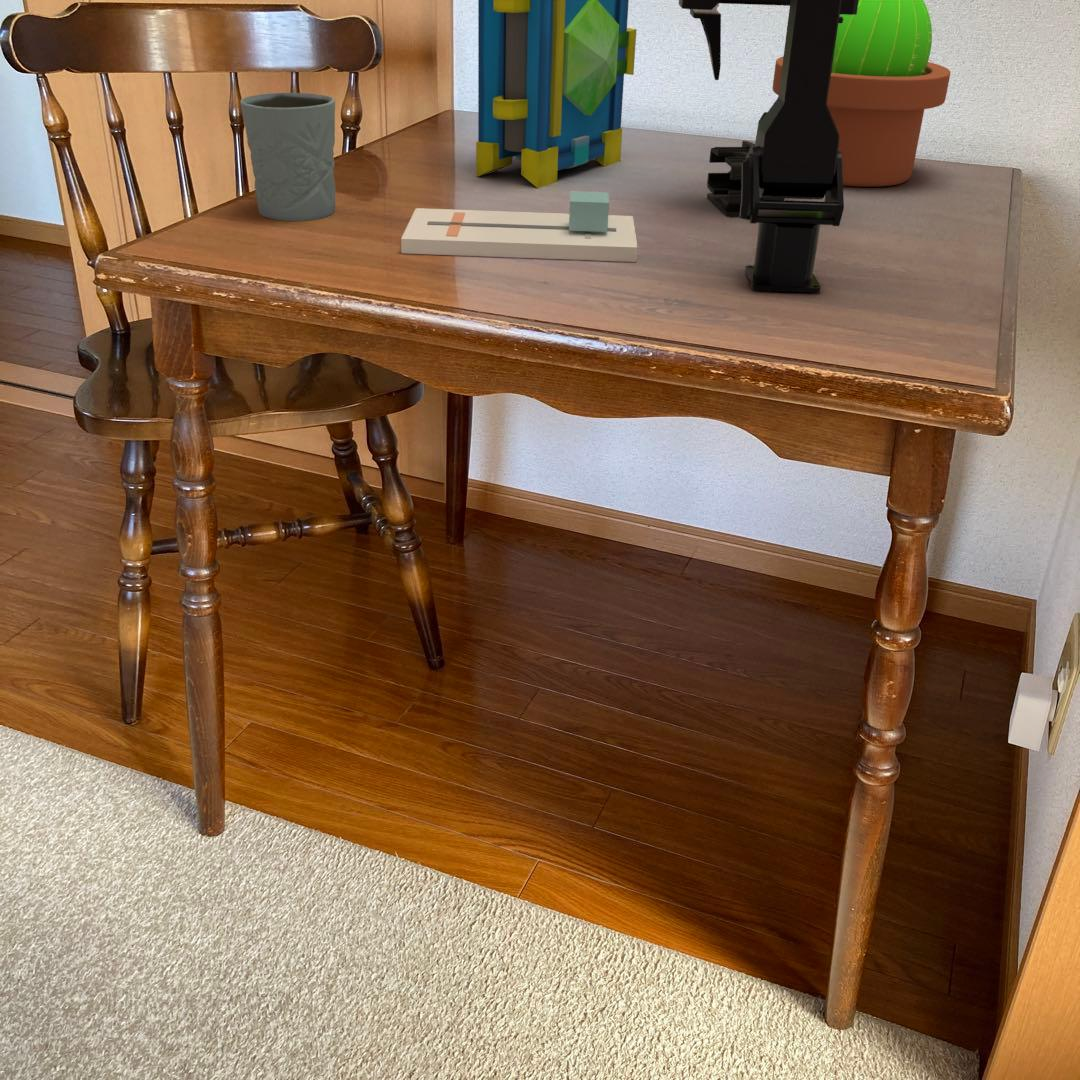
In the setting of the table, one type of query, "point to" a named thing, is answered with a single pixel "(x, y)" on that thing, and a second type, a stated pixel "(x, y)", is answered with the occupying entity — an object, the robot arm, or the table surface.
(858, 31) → the potted cactus
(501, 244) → the fader panel
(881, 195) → the table surface
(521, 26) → the decorative book
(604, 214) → the fader tab
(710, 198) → the end cap
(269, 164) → the grey-green plant pot
